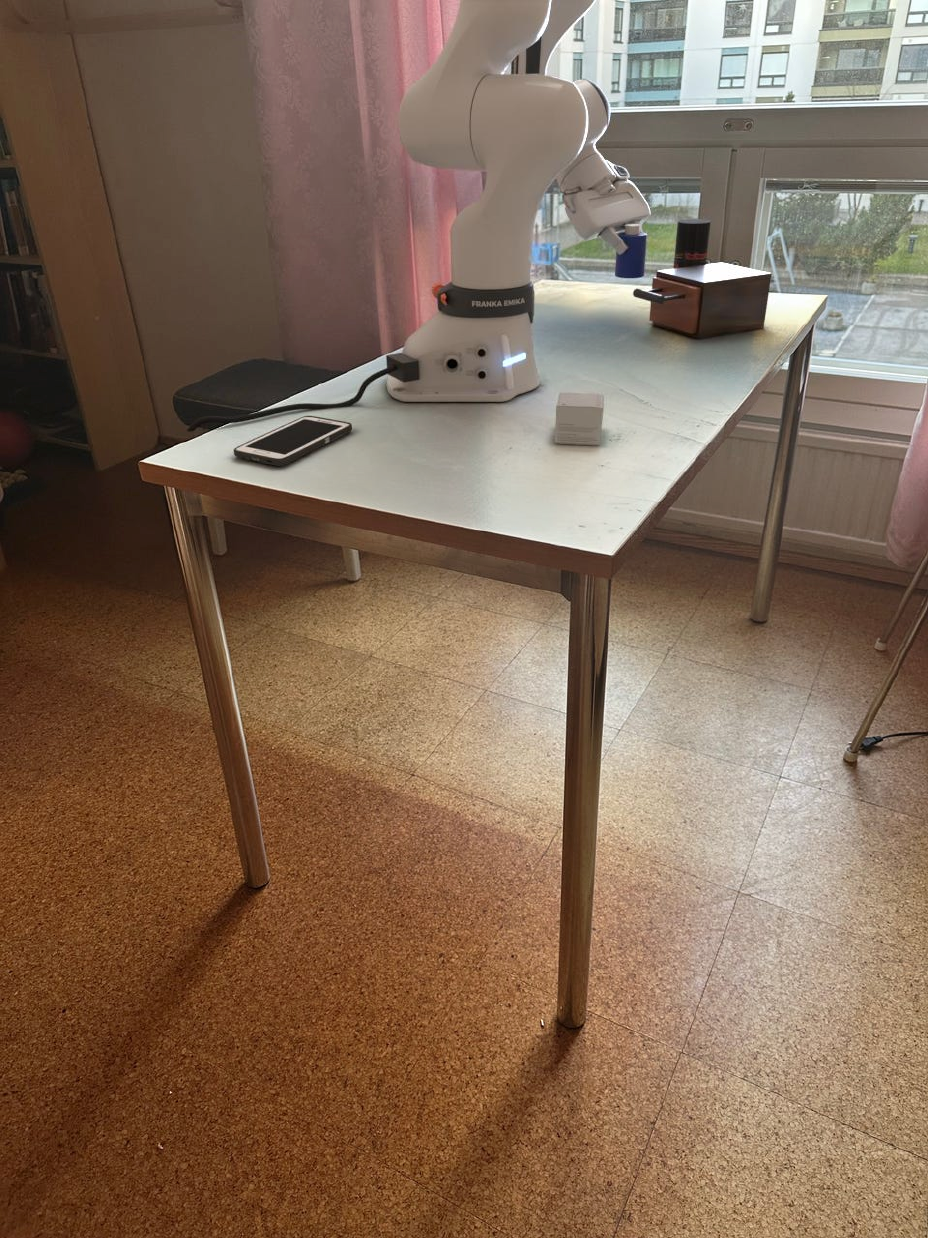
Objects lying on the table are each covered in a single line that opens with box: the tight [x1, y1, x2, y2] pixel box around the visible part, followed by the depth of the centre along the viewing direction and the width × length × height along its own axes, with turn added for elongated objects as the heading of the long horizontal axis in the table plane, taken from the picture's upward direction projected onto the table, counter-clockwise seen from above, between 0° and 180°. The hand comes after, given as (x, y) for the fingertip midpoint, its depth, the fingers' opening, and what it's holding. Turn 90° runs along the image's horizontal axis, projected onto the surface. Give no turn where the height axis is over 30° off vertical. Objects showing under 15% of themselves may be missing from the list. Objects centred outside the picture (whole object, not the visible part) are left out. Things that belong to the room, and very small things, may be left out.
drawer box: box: [651, 262, 772, 340], centre depth 159 cm, size 15×13×9 cm
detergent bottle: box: [614, 224, 648, 279], centre depth 162 cm, size 5×5×8 cm
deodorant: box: [672, 218, 712, 269], centre depth 172 cm, size 6×6×15 cm
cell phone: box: [233, 415, 353, 467], centre depth 113 cm, size 8×15×1 cm, turn 150°
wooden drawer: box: [632, 276, 701, 334], centre depth 157 cm, size 19×11×7 cm, turn 118°
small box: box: [554, 391, 605, 446], centre depth 112 cm, size 6×6×5 cm
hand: (634, 248), depth 162 cm, fingers closed on detergent bottle, 5 cm apart
